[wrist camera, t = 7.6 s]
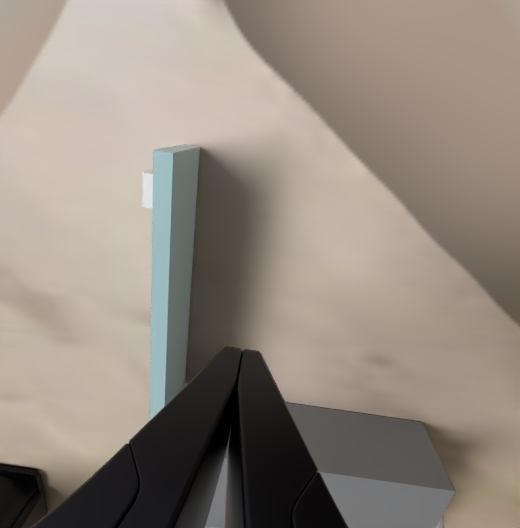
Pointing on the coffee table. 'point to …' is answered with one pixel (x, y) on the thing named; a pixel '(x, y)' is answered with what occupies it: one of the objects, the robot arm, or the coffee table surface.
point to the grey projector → (368, 469)
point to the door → (170, 265)
